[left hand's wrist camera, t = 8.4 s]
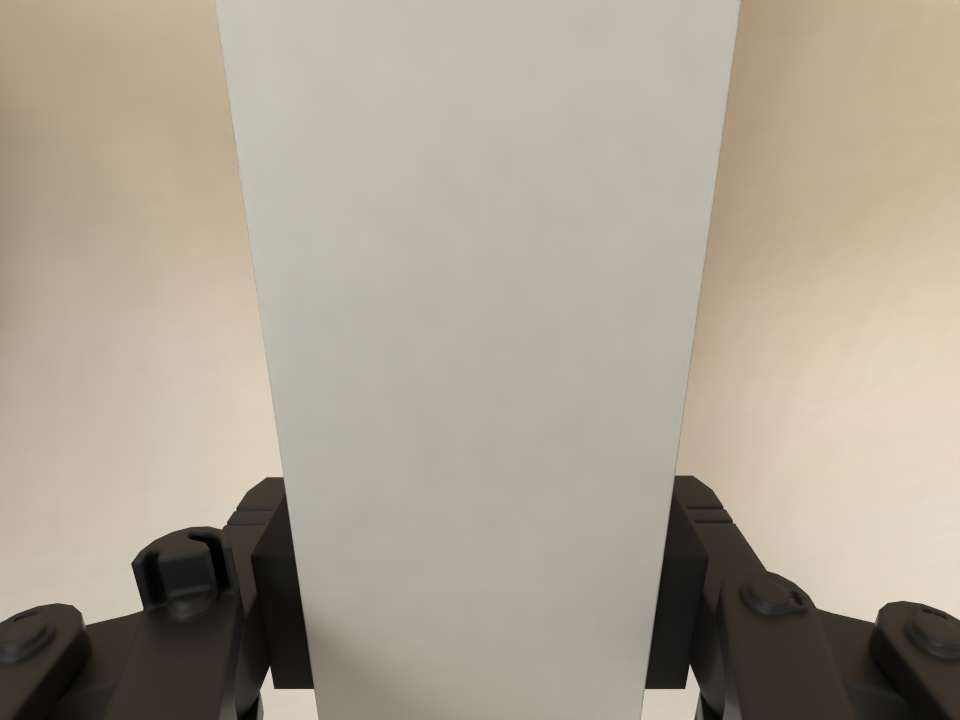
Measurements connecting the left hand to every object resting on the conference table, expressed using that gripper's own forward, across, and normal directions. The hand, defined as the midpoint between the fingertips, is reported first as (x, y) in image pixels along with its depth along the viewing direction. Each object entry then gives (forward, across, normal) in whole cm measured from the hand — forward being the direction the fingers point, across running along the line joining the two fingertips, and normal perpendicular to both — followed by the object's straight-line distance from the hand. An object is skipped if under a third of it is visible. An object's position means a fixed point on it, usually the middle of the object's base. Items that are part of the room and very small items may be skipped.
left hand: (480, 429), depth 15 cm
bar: (+1, 0, -29) cm, 29 cm away
